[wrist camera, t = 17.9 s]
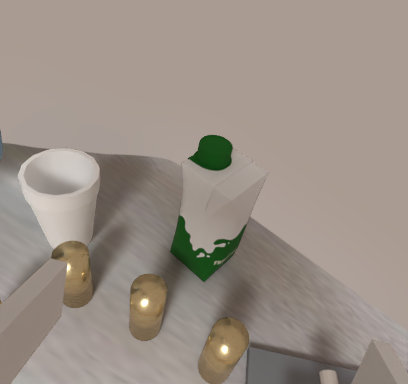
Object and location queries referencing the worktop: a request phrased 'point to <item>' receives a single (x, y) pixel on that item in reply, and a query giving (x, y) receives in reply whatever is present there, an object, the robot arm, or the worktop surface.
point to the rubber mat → (288, 369)
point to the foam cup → (62, 193)
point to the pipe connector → (328, 377)
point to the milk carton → (215, 204)
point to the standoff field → (153, 312)
